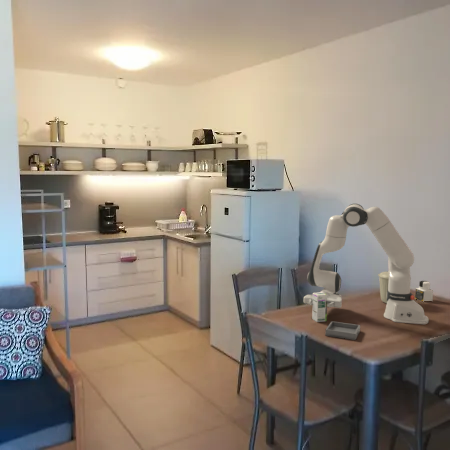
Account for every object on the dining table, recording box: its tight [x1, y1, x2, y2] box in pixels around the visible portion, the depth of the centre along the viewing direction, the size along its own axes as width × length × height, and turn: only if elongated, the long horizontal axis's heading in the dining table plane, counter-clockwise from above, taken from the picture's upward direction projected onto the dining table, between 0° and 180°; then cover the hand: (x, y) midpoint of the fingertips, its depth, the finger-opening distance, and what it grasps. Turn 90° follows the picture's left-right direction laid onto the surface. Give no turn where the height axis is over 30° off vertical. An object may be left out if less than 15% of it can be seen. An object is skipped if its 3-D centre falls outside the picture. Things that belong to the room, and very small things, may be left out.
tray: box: [324, 320, 361, 341], centre depth 224 cm, size 14×14×3 cm
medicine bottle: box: [414, 280, 434, 303], centre depth 285 cm, size 7×7×12 cm
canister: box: [377, 270, 389, 304], centre depth 279 cm, size 18×18×21 cm
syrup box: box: [311, 291, 328, 323], centre depth 243 cm, size 6×6×14 cm
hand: (319, 304), depth 243 cm, fingers open, 8 cm apart
